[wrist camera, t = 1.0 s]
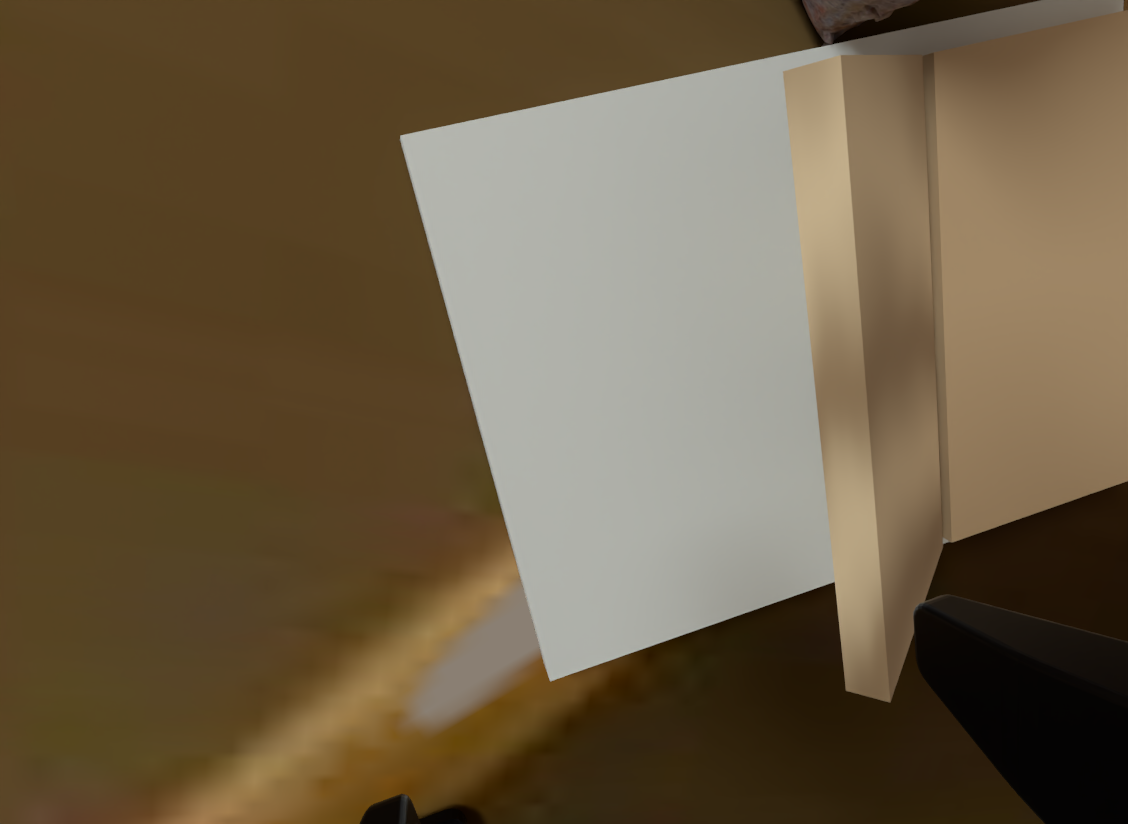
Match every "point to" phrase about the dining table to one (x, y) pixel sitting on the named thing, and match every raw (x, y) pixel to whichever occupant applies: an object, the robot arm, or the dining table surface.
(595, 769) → the dining table surface
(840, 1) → the food item
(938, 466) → the click plank
